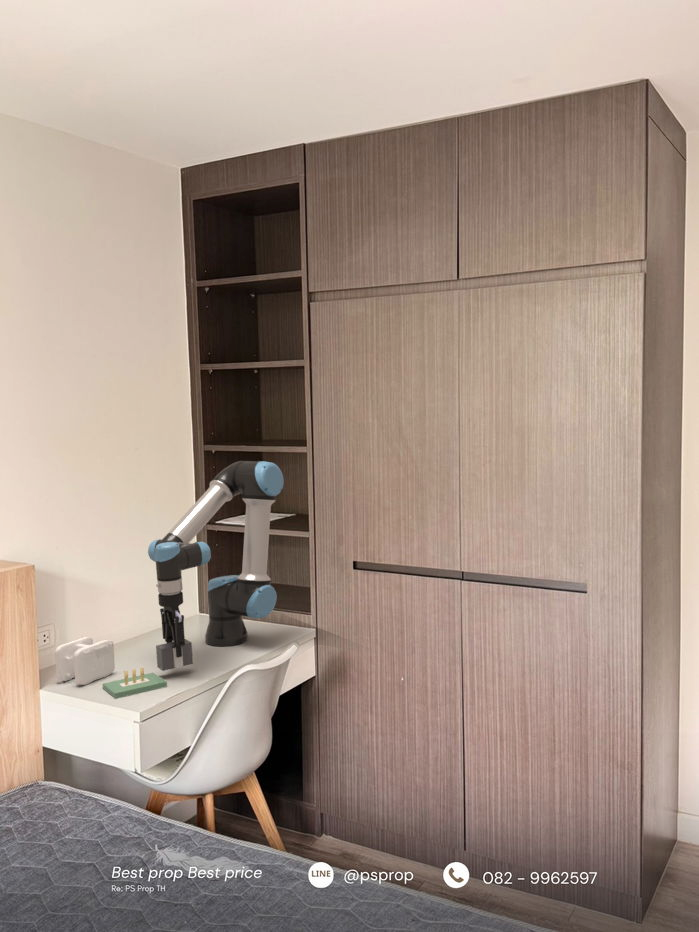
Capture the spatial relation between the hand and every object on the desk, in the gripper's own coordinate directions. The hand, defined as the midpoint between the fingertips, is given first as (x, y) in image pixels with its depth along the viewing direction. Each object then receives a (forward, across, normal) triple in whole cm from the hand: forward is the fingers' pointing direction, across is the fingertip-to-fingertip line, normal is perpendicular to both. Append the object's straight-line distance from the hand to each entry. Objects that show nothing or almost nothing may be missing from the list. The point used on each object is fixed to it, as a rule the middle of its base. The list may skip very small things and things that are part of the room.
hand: (175, 664), depth 266 cm
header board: (+3, +3, -15) cm, 15 cm away
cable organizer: (+3, -15, -24) cm, 28 cm away
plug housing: (0, 0, 0) cm, 0 cm away
